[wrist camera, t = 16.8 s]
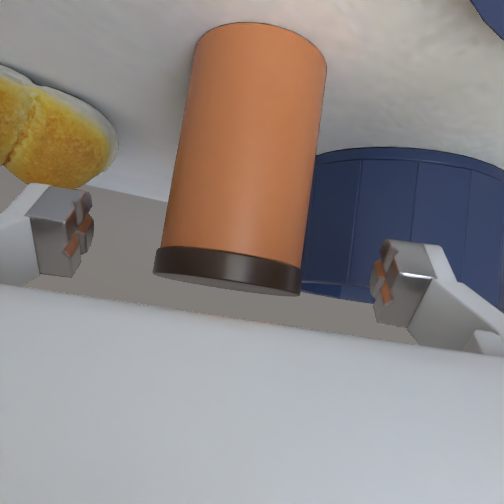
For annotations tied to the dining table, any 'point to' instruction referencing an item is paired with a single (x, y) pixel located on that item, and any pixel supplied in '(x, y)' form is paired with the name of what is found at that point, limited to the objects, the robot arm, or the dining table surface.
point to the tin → (402, 218)
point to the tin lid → (491, 14)
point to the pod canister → (245, 162)
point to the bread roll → (51, 134)
